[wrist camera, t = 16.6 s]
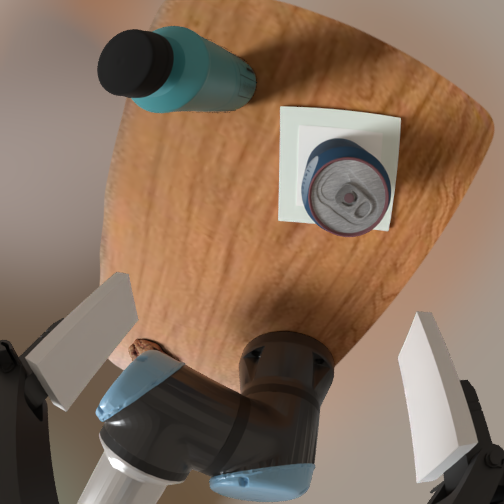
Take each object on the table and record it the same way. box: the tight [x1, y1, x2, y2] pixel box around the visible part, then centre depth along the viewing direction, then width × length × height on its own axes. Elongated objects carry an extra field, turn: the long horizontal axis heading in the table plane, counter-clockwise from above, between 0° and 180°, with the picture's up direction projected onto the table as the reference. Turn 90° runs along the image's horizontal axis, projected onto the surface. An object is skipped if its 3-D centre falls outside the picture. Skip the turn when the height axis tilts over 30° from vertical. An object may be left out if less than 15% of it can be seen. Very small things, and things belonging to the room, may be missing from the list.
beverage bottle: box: [97, 26, 257, 113], centre depth 20 cm, size 6×7×20 cm
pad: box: [278, 106, 401, 231], centre depth 30 cm, size 13×13×1 cm
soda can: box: [301, 138, 391, 237], centre depth 24 cm, size 7×7×12 cm
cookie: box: [128, 339, 170, 361], centre depth 51 cm, size 10×11×3 cm
